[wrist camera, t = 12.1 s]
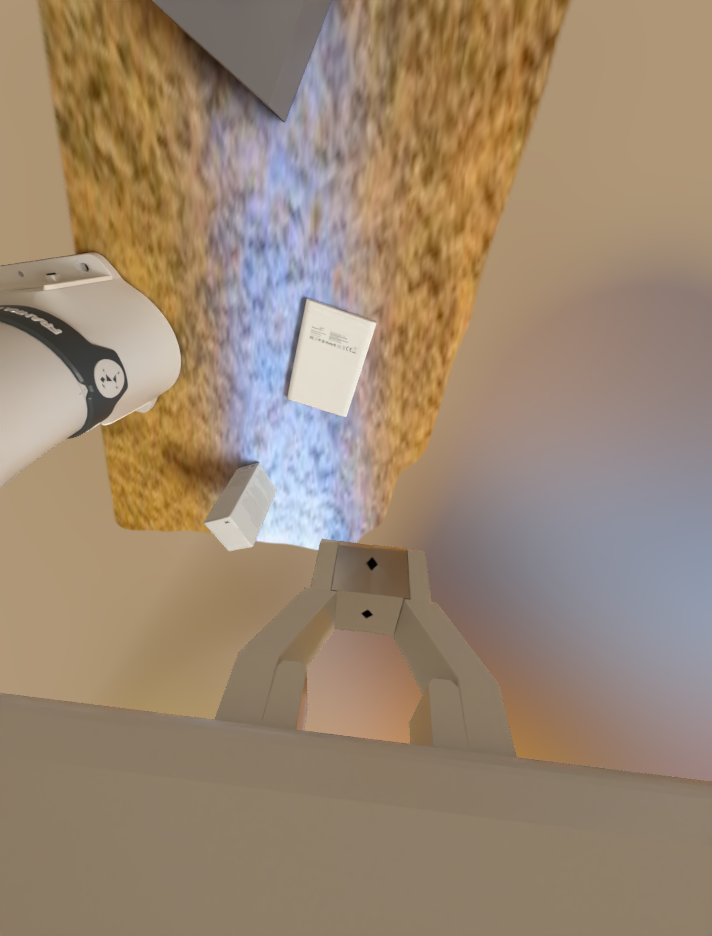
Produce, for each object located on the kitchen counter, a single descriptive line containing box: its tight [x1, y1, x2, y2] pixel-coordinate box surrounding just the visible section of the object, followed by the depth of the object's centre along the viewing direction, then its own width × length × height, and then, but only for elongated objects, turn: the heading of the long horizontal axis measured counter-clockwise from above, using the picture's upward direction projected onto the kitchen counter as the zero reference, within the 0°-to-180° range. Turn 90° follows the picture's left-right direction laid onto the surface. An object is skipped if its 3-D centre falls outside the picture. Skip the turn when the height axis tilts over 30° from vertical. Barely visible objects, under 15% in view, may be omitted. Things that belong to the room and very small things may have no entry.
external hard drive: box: [287, 298, 376, 417], centre depth 41 cm, size 2×8×12 cm
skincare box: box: [204, 463, 277, 551], centre depth 48 cm, size 6×4×12 cm
